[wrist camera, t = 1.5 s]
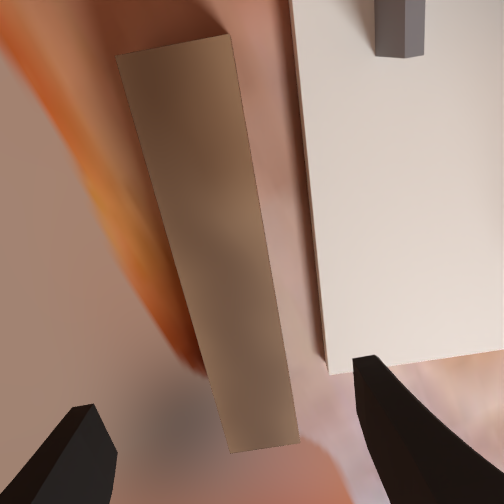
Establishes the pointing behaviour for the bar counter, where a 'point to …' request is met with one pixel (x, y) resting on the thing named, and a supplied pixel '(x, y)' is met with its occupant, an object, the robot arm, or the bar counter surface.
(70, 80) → the bar counter surface
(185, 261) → the rail
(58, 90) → the bar counter surface
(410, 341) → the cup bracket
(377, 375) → the robot arm
